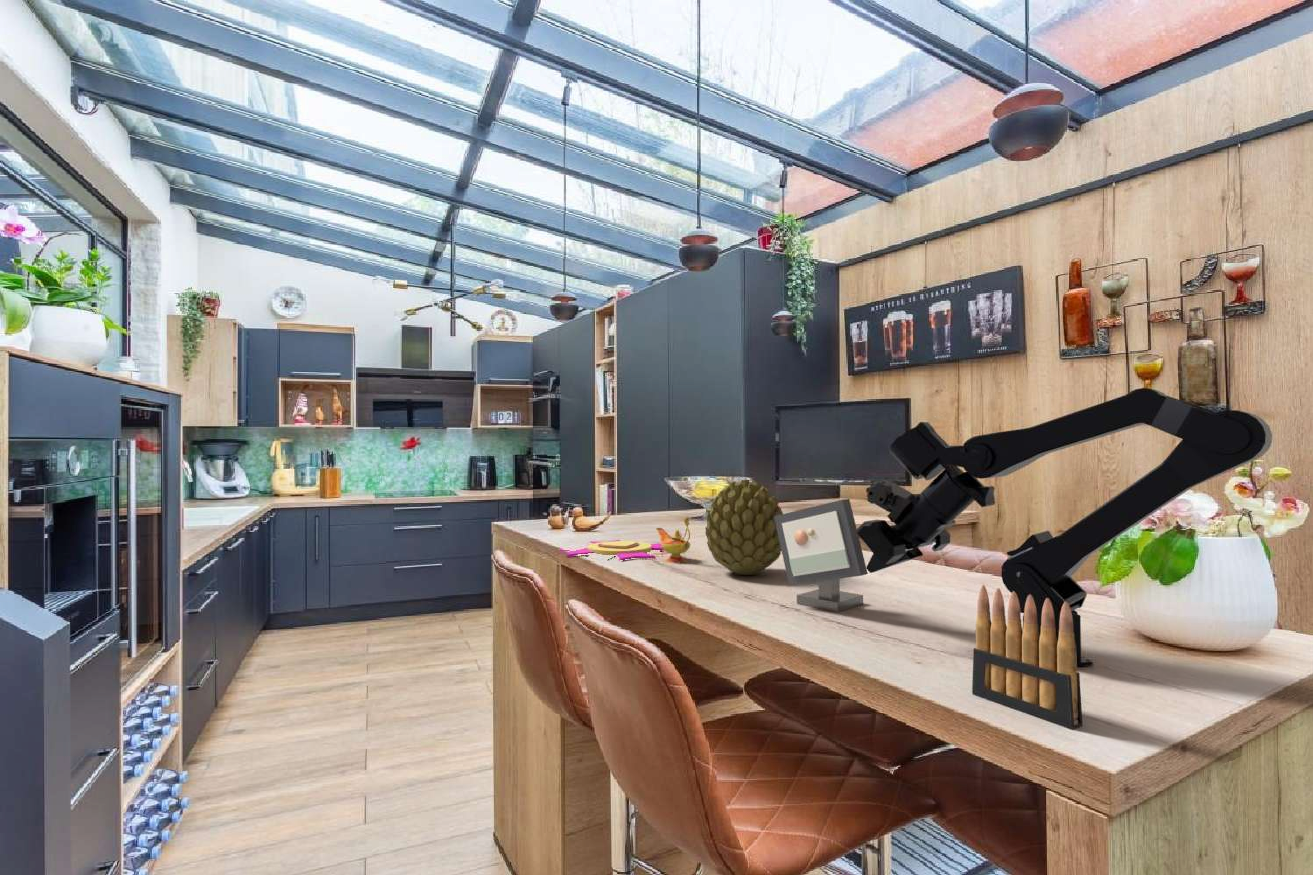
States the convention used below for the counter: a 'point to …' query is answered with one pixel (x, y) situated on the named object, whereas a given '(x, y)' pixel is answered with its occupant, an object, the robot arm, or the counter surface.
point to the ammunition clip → (1027, 660)
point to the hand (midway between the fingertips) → (869, 570)
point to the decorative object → (744, 528)
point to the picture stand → (830, 597)
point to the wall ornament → (619, 549)
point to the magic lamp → (674, 543)
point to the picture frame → (820, 543)
